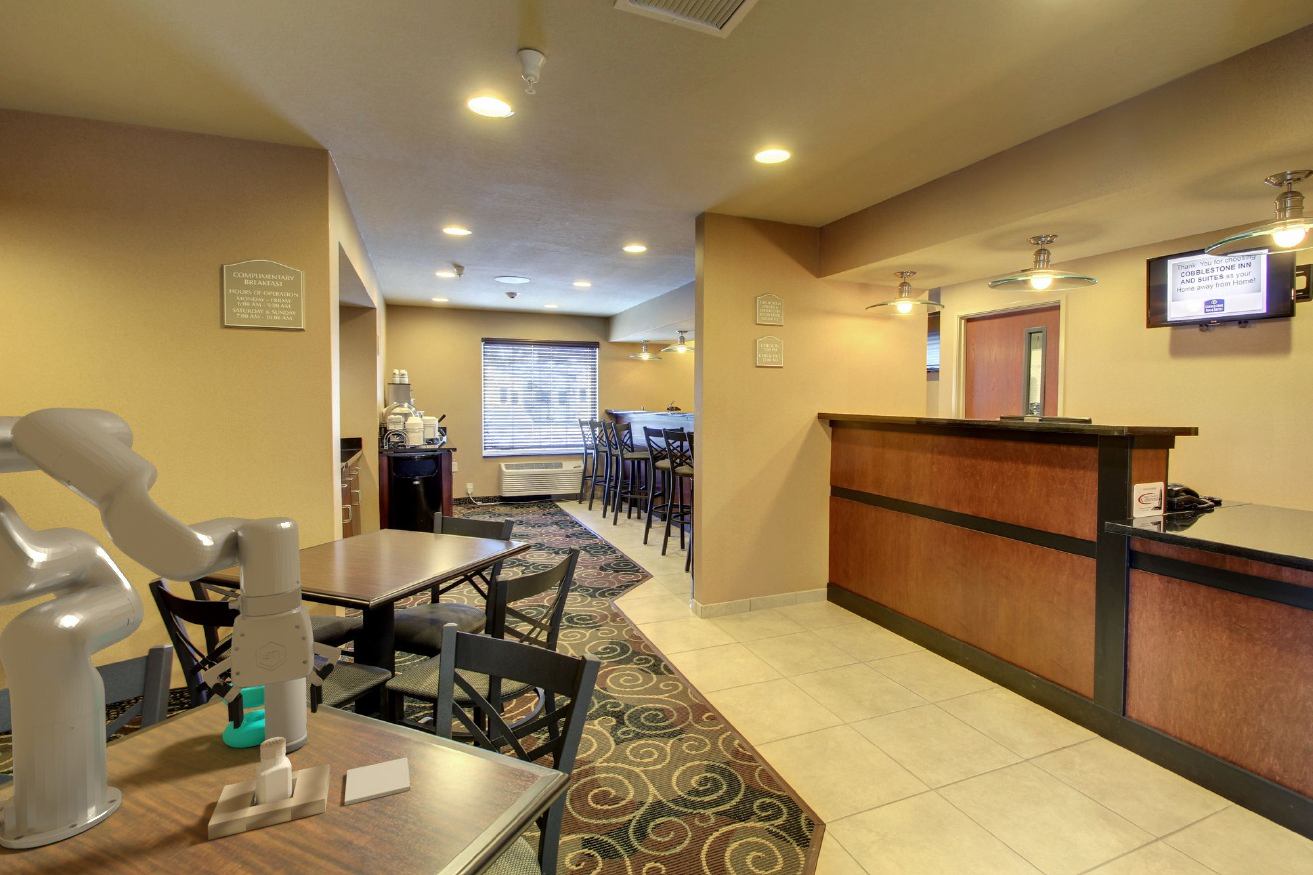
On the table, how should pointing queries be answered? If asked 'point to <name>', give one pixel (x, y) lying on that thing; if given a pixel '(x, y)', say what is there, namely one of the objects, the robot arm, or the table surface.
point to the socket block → (240, 798)
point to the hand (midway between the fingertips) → (277, 716)
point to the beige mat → (377, 781)
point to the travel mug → (286, 712)
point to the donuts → (248, 721)
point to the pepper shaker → (273, 772)
